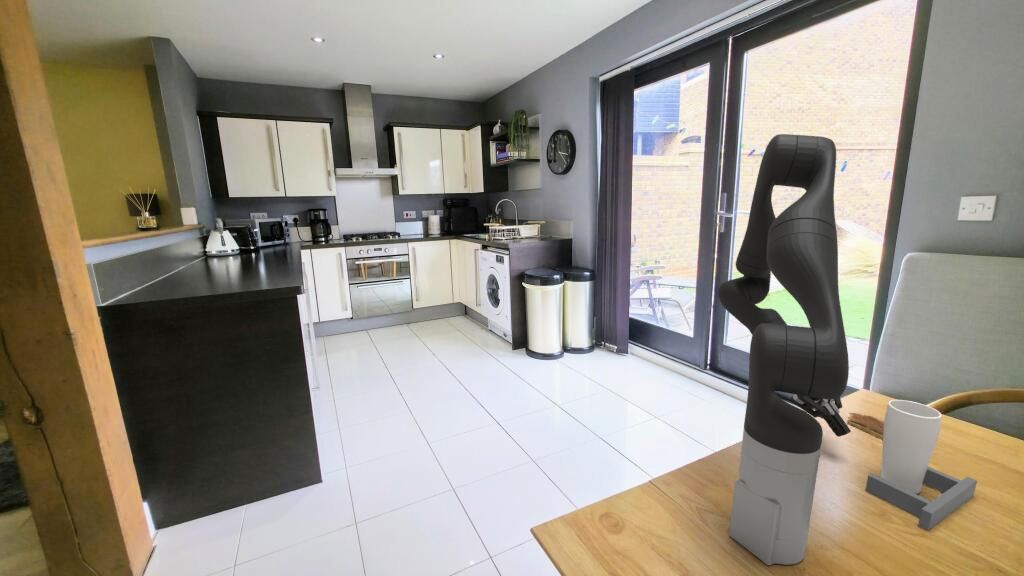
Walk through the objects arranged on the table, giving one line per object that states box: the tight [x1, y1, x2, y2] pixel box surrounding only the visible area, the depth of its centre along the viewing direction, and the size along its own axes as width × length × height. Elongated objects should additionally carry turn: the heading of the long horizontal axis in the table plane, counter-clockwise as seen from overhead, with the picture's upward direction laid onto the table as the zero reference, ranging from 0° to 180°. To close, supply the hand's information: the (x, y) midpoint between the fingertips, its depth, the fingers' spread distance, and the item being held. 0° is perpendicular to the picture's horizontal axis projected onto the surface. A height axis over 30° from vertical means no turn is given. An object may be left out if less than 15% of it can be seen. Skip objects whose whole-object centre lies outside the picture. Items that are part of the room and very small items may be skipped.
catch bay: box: [864, 466, 978, 531], centre depth 70 cm, size 17×9×3 cm, turn 116°
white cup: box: [879, 399, 943, 495], centre depth 71 cm, size 7×7×15 cm
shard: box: [846, 412, 884, 441], centre depth 90 cm, size 11×8×2 cm
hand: (844, 434), depth 79 cm, fingers closed
